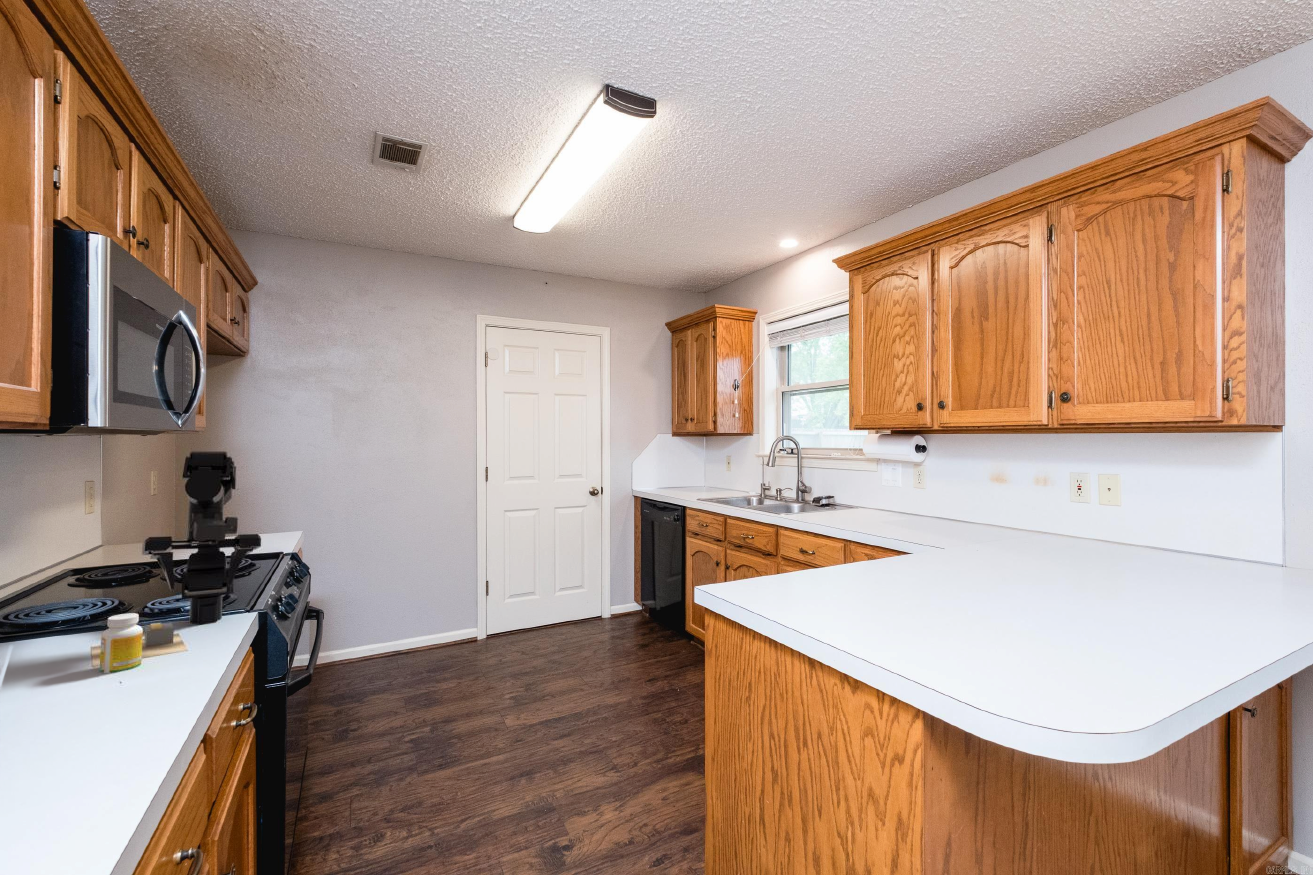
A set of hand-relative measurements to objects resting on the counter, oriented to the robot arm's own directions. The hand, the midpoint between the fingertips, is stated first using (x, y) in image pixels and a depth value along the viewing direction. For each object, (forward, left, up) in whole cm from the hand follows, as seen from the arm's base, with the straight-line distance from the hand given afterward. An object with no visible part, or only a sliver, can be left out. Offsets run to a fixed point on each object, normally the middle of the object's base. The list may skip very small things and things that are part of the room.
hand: (201, 587), depth 118 cm
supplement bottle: (+9, -12, -11) cm, 19 cm away
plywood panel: (-1, -9, -11) cm, 14 cm away
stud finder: (-3, -6, -10) cm, 12 cm away
